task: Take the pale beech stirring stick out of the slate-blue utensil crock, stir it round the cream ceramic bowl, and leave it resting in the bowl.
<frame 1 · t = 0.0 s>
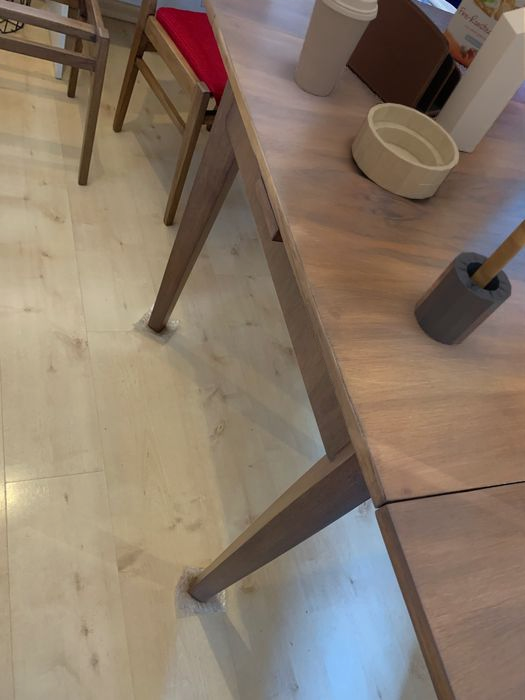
stick: (441, 320, 67), point 1 cm above the table, touching crock
bowl: (393, 168, 84), on the table
cracker box: (466, 63, 116), on the table
milk: (450, 139, 95), on the table
crock: (437, 324, 67), on the table
coffee cup: (312, 84, 91), on the table
letter holder: (385, 84, 99), on the table
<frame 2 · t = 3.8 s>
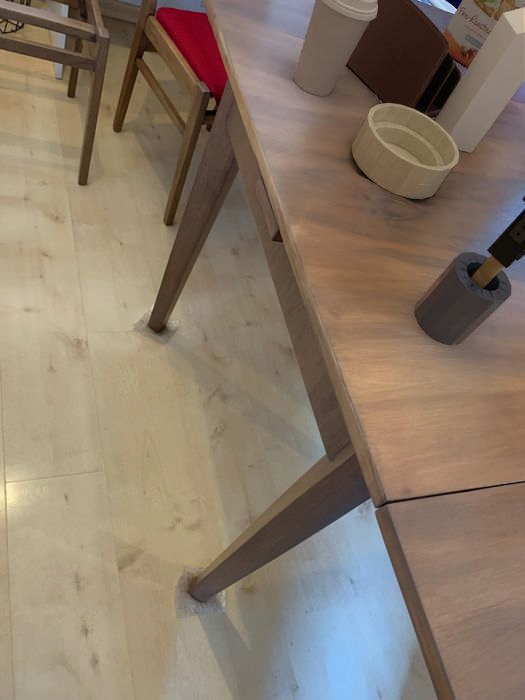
hand: (503, 254, 58), 12 cm above the table, tool pointing down, fingers closed on stick, 2 cm apart
stick: (441, 320, 67), point 1 cm above the table, touching crock, gripper
everything else where it was.
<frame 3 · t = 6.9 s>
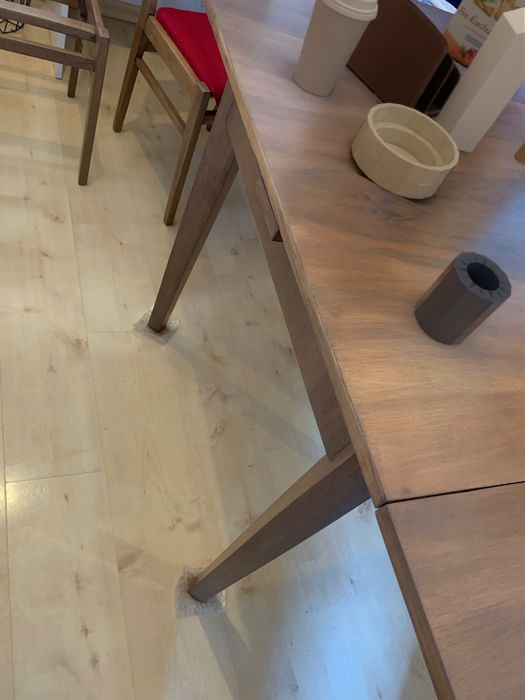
stick: (521, 160, 57), point 18 cm above the table, touching gripper
everything else where it was.
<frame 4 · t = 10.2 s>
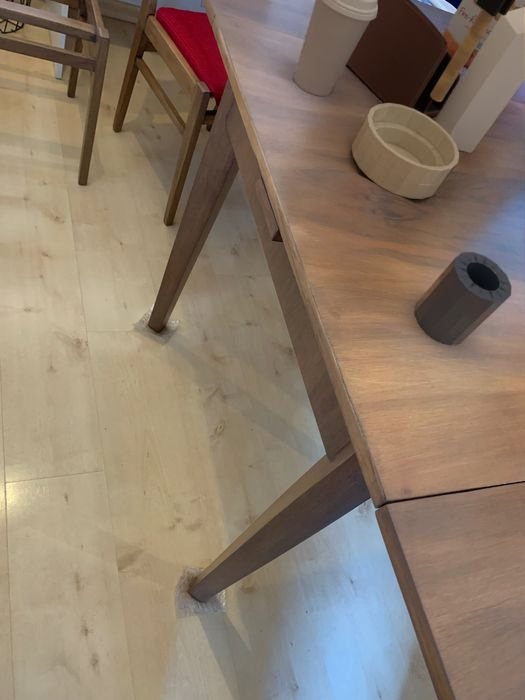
hand: (491, 8, 65), 23 cm above the table, tool pointing down, fingers closed on stick, 2 cm apart
stick: (436, 97, 75), point 12 cm above the table, touching gripper
everything else where it was.
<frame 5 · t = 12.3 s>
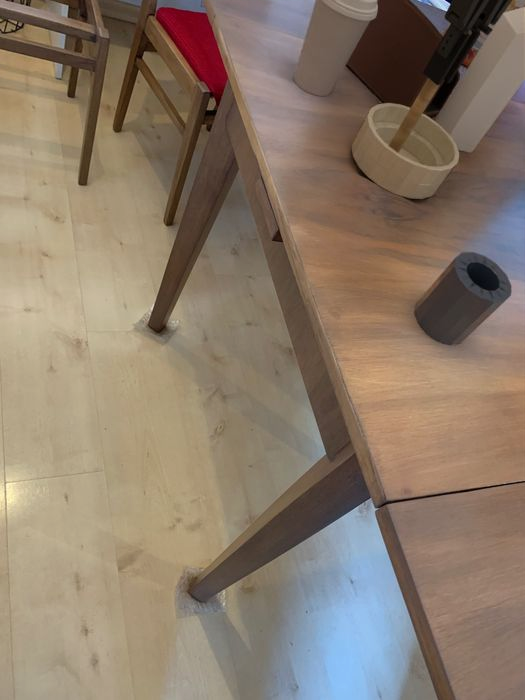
hand: (436, 77, 73), 14 cm above the table, tool pointing down, fingers closed on stick, 2 cm apart
stick: (392, 150, 82), point 2 cm above the table, touching gripper
everything else where it was.
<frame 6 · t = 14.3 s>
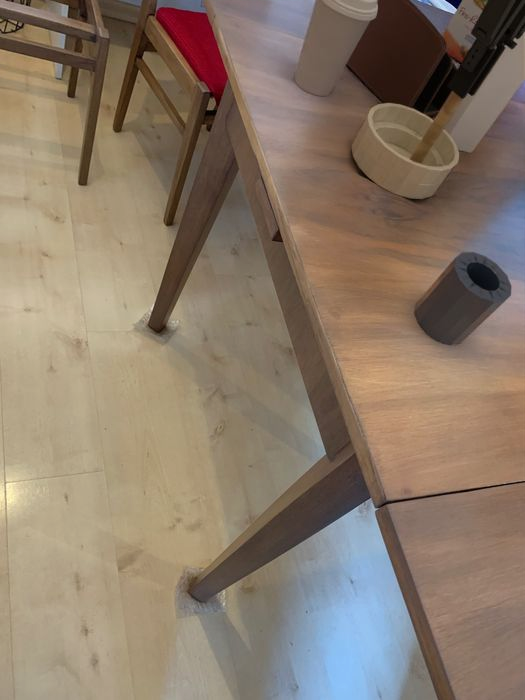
hand: (460, 90, 73), 14 cm above the table, tool pointing down, fingers closed on stick, 2 cm apart
stick: (414, 161, 83), point 2 cm above the table, touching gripper
everything else where it was.
when the fingers open (12 cm above the table, at t = 17.0 s): stick stays where it is, resting on bowl.
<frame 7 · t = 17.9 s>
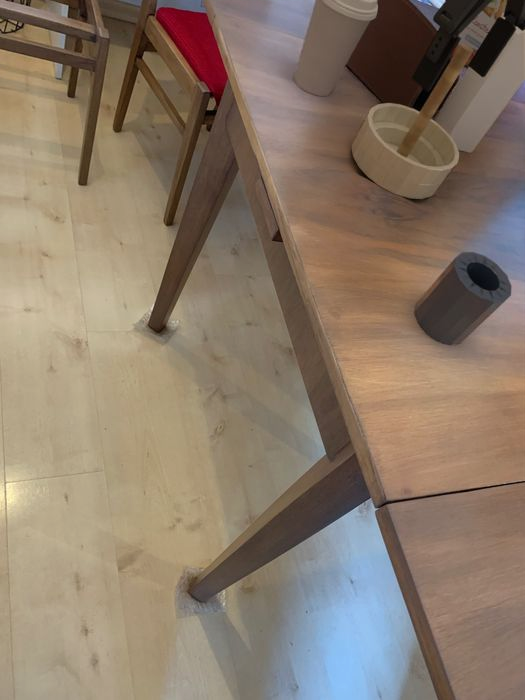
hand: (449, 77, 72), 15 cm above the table, tool pointing down, fingers open, 13 cm apart
stick: (395, 164, 83), point 1 cm above the table, touching bowl
everything else where it was.
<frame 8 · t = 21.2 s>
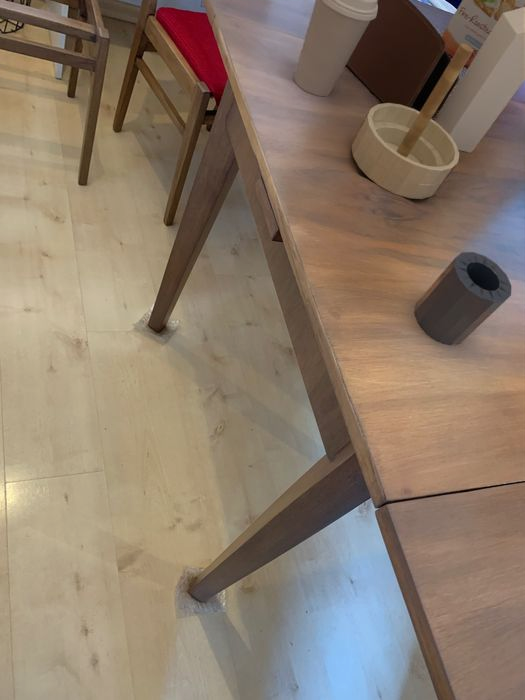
nothing on the table moved.
at the end: stick moved 29.2 cm from its start; stick inside the target area in the bowl (0.1 cm from its centre), point 0.8 cm above the bowl's base; the gripper is holding nothing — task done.
